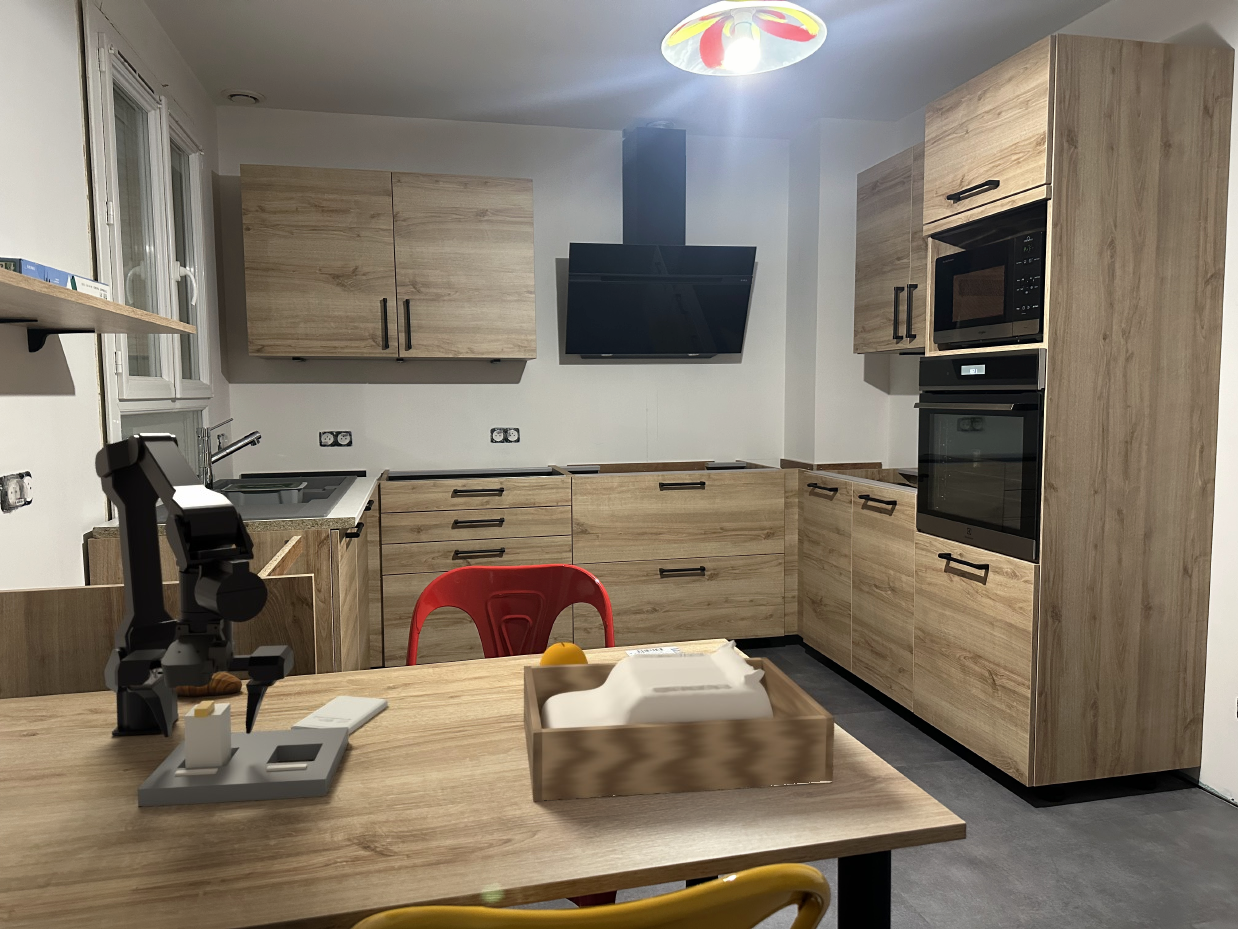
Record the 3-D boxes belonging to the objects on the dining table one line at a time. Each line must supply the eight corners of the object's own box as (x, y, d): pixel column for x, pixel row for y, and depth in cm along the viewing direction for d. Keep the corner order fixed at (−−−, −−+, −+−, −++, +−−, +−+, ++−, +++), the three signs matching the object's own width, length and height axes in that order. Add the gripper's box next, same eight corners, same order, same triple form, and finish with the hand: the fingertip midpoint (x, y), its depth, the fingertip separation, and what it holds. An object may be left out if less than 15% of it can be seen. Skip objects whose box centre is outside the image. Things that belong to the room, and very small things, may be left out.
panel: (138, 807, 93) (137, 786, 93) (188, 749, 109) (188, 732, 108) (325, 796, 96) (325, 776, 96) (348, 741, 112) (348, 724, 112)
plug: (184, 784, 99) (182, 709, 98) (197, 768, 103) (195, 696, 103) (220, 782, 99) (218, 708, 99) (231, 766, 104) (230, 695, 103)
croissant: (141, 702, 127) (140, 670, 127) (163, 687, 134) (162, 657, 133) (232, 701, 128) (232, 669, 127) (249, 687, 134) (249, 656, 134)
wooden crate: (533, 801, 95) (533, 732, 95) (523, 721, 120) (523, 666, 119) (832, 782, 101) (834, 717, 100) (764, 709, 125) (766, 657, 125)
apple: (587, 697, 130) (587, 650, 130) (536, 696, 130) (536, 649, 130) (589, 681, 138) (590, 636, 138) (542, 680, 138) (542, 635, 138)
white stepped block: (789, 785, 101) (791, 675, 100) (539, 797, 97) (540, 684, 96) (744, 726, 120) (746, 633, 119) (534, 734, 116) (534, 639, 115)
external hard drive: (387, 709, 126) (345, 741, 113) (338, 705, 127) (290, 736, 115) (387, 699, 125) (344, 729, 113) (337, 695, 127) (290, 724, 115)
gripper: (90, 626, 91) (94, 767, 92) (271, 621, 94) (273, 757, 95) (133, 603, 102) (136, 729, 103) (293, 599, 105) (295, 721, 106)
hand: (208, 734), depth 101 cm, fingers open, 9 cm apart
